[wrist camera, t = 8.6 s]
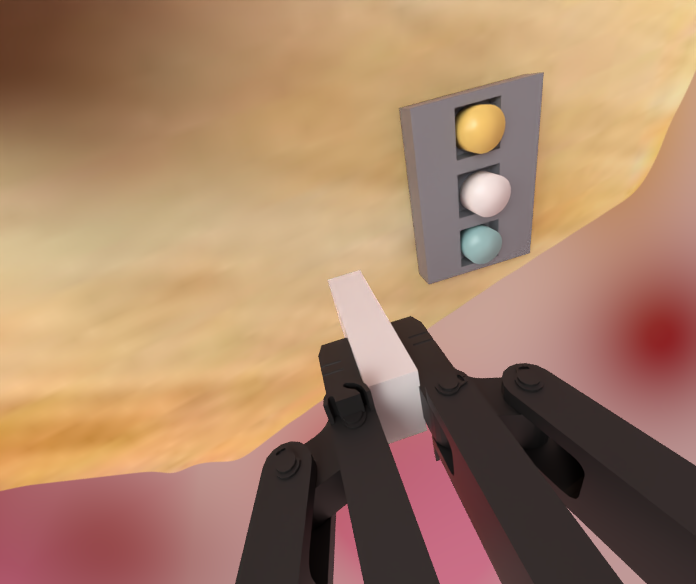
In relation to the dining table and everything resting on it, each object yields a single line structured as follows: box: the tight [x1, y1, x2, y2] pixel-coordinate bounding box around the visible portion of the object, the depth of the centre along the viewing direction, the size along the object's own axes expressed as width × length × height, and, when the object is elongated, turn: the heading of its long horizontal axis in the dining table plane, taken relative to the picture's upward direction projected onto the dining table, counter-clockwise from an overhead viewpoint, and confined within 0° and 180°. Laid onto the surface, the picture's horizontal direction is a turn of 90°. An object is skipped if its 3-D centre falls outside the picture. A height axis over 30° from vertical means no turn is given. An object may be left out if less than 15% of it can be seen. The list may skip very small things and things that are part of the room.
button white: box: [460, 171, 511, 217], centre depth 37 cm, size 4×4×3 cm
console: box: [399, 72, 544, 284], centre depth 39 cm, size 20×14×3 cm
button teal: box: [460, 224, 502, 264], centre depth 41 cm, size 4×4×3 cm
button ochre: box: [455, 104, 505, 154], centre depth 34 cm, size 4×4×3 cm
